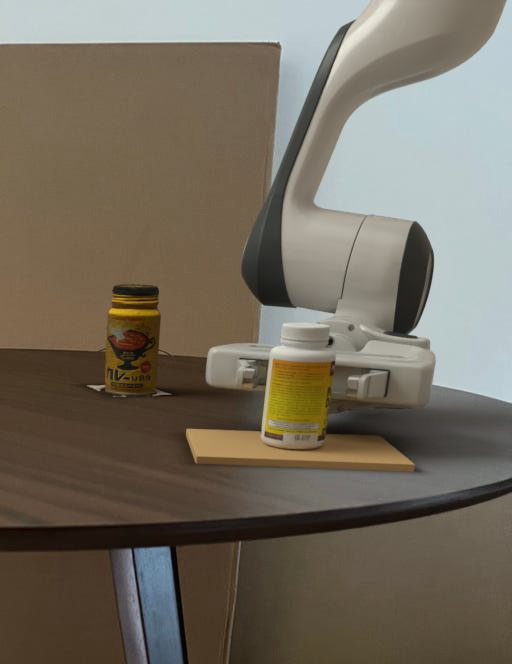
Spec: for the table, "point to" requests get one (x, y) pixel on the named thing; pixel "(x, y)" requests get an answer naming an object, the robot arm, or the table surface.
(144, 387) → the condiment
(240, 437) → the wooden board
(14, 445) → the table surface
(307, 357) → the supplement bottle
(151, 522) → the table surface
